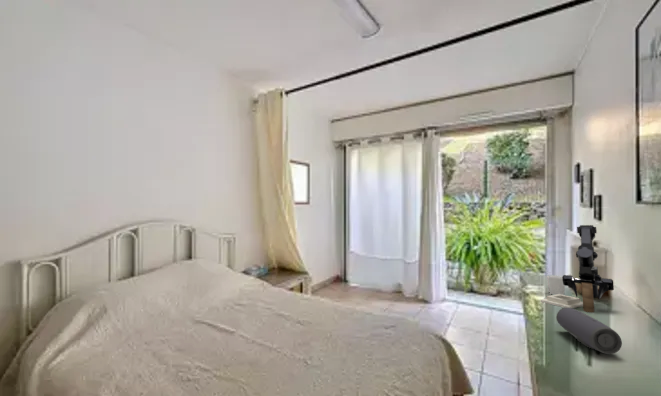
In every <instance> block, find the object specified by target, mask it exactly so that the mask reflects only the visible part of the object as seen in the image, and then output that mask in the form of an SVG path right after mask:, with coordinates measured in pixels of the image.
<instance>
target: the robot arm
mask: <svg viewBox="0 0 661 396" xmlns="http://www.w3.org/2000/svg"><path fill="white" fill-rule="evenodd" d="M576 232H577V234H578V235H579V237H580V245H579V246H578V249H577V251H576V252H575V256H576V258H577V259H578V265H579V268H578V270H579V271H578V278H574V276H573V275H571V274H570V275H569V274H568V275H567V274H563V275H562V279H563V284H564V285H565V287H568V288H571V290H572V291H573V292H574V295H575V297H576V298H579V297H578V296H579V295H578V291H577V285H576V284H581V283H582V282H587V283H592V286H593V299H596V298H598V300H601V298H602V296H603V295H604V293H606V292H609V291H614V290H615V288H614V280H613V279H612V278H604V277H601V275H600V274H599V270H598V269H599V268H598V266H595V260H597V258H598V256H599V255H598V253H597V252H596V251H595V248H594V246H593V241H594V239H595V238H596V234H598V232H597V227H596V226H594V225H593V224H586V225H585V224H580V225H579V226H576Z"/></svg>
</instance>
